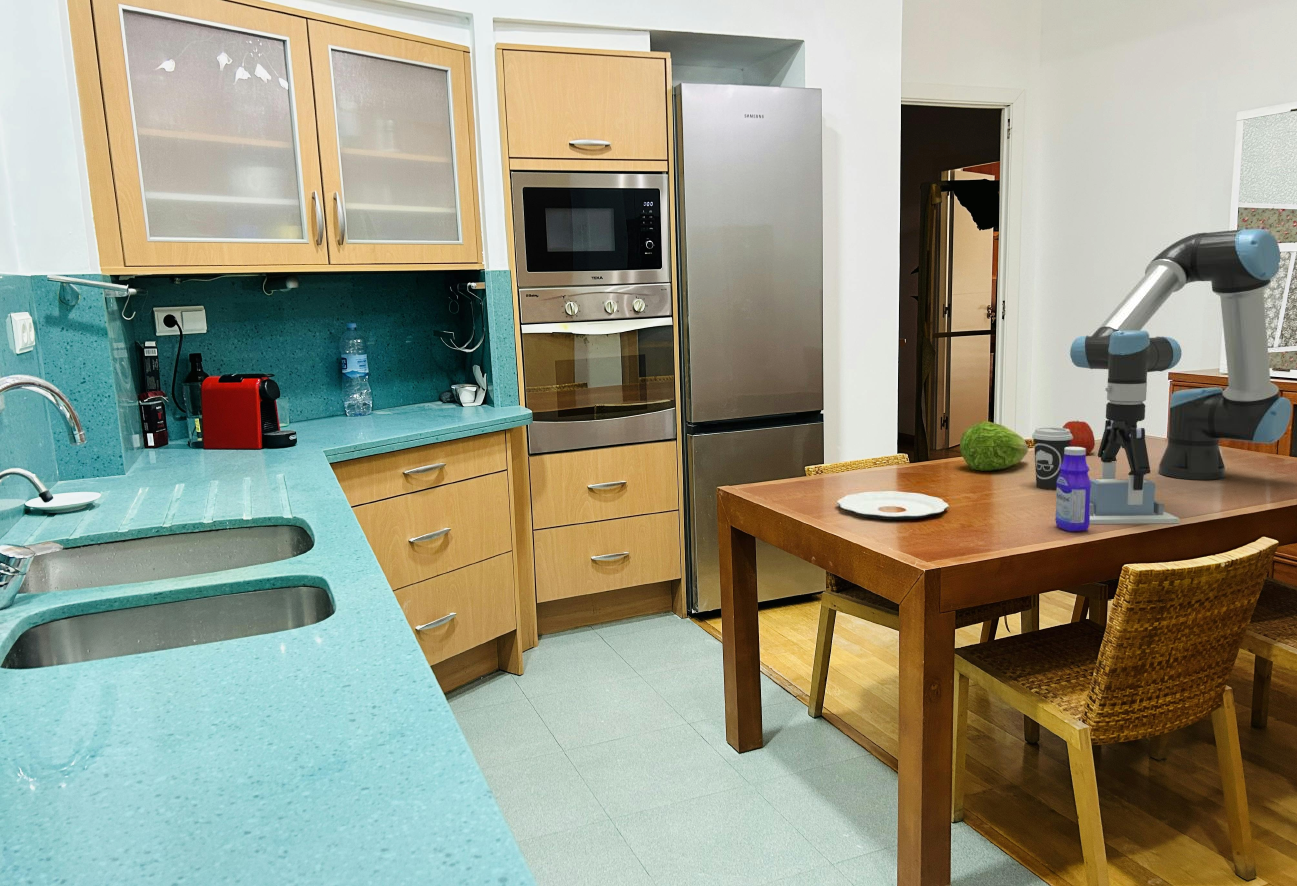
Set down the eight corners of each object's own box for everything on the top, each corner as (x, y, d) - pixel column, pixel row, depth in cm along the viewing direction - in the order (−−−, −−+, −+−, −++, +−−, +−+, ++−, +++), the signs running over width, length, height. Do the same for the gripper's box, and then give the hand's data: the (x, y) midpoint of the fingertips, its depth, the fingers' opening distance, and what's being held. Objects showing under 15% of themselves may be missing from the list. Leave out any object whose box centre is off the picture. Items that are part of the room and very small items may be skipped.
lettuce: (1055, 443, 251) (1016, 413, 261) (1005, 441, 237) (967, 410, 247) (1027, 482, 258) (991, 452, 268) (977, 483, 244) (941, 451, 254)
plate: (931, 528, 191) (931, 520, 191) (822, 516, 204) (822, 508, 204) (958, 504, 212) (958, 496, 212) (857, 495, 225) (858, 487, 225)
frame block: (1096, 514, 193) (1097, 483, 192) (1087, 509, 198) (1088, 478, 197) (1153, 514, 192) (1155, 482, 191) (1142, 509, 197) (1144, 477, 196)
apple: (1062, 456, 266) (1064, 422, 264) (1052, 450, 276) (1054, 417, 274) (1098, 456, 264) (1100, 422, 262) (1087, 450, 274) (1089, 417, 272)
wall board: (1150, 508, 201) (1151, 494, 200) (1179, 523, 188) (1180, 507, 187) (1064, 509, 202) (1064, 495, 202) (1087, 524, 189) (1087, 508, 189)
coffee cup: (1075, 491, 220) (1077, 432, 218) (1034, 490, 222) (1036, 432, 220) (1065, 483, 230) (1067, 426, 227) (1026, 483, 231) (1028, 426, 229)
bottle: (1049, 525, 190) (1052, 445, 187) (1074, 523, 190) (1078, 444, 187) (1068, 533, 183) (1072, 451, 180) (1094, 532, 183) (1098, 450, 180)
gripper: (1084, 396, 204) (1080, 485, 207) (1134, 409, 179) (1128, 510, 182) (1118, 395, 203) (1113, 485, 206) (1172, 408, 178) (1166, 510, 182)
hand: (1120, 497), depth 194 cm, fingers open, 13 cm apart
